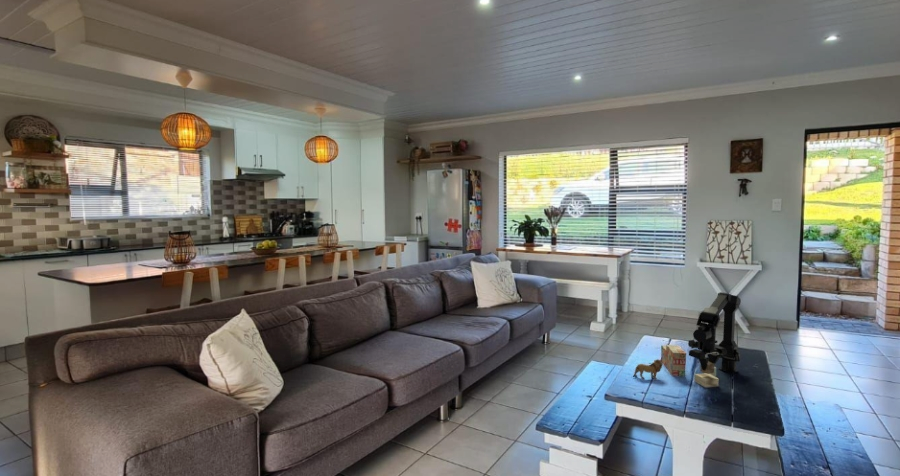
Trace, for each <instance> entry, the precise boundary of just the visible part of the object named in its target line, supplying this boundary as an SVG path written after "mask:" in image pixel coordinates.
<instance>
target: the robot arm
mask: <svg viewBox="0 0 900 476" xmlns="http://www.w3.org/2000/svg"><path fill="white" fill-rule="evenodd" d="M740 306H741V298H740V297H739V295H736V294H735V295H733V294H731V293H728V292H722V291H720V292H718V293H717V297H716V298H715V299H714V300H713V301H712V303H711V304H710V306H709V307H705V308H704V309H703V310H702V311H701V312H700V313H699V315H698V319H697V322H696V326H698V327H697V329H695V330H694V331H693V334H692V336H693V338H694V339H690V340H689V339H688V343H687V344H688V347H689V348H691V349H690V350H689V351H688V356H689V357H692V358H695V359H698V361H699V364H700V368H701V367H702V370H704V371H705V370H706V367H707V364H708V361H709V362H712V363H714V366H715V365H716V363H717V362H718V361H719V359H720V358H721V367H718V370H720V371H723V372H725V373H728V374H734V373H738V372H739V370H738V369H736V368H737V362H741V354H740V351H739V350H738V344H737V343H736V341H735V325H736V321H735V320H736V312H737V311H738V309H739V308H740ZM722 311H723V312H724V313H723V335H722V340H721V342H720V343H718V340H716V338H717V337H716V336H717V335H716V334H717V333H716V332H717V327H718V326H719V323H720V321H721V317H720V314H721V312H722ZM716 344H718V345H716ZM696 348H697V349H696Z"/></svg>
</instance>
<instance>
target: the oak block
mask: <svg viewBox="0 0 900 476" xmlns="http://www.w3.org/2000/svg"><path fill="white" fill-rule="evenodd" d="M719 380H720V379H719V378H718V377H717V376H713V375H711V374H707V373H703V372H701V373H695V374H694V382H695V383H696V384H698V385H699V386H702V387H703V388H714V387H715V388H716V387H719Z"/></svg>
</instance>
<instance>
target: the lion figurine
mask: <svg viewBox="0 0 900 476" xmlns="http://www.w3.org/2000/svg"><path fill="white" fill-rule="evenodd" d="M663 366H664V365H663V363H662V361H661V359H658V358H657V359H655V360H654V361H653V362H652V363H650V364H643V363H639V364H637V365H636V367H635V370H634V373H633V375H632V377H633V378H634V377H638V373H639V376H640V378H641V379H642V380H645V377H644V376H643V374H644V372H645V373H650V377H651V378H653V379H654V380H657V379H658V378H657V373H659V372H661V370H662V367H663Z"/></svg>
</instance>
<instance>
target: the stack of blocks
mask: <svg viewBox="0 0 900 476" xmlns="http://www.w3.org/2000/svg"><path fill="white" fill-rule="evenodd" d="M660 351H661V352H660V360H661V361H662V364H663V365H662V366H664V367H665V369H666V370H667V371H668V373H669V374H670V375H671V377H683V378H684V377H686V365H687V352H686V351H685V350H684V349H683V348H682V347H681V346H680V345H678V344H677V345H676V344H661V346H660Z"/></svg>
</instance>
